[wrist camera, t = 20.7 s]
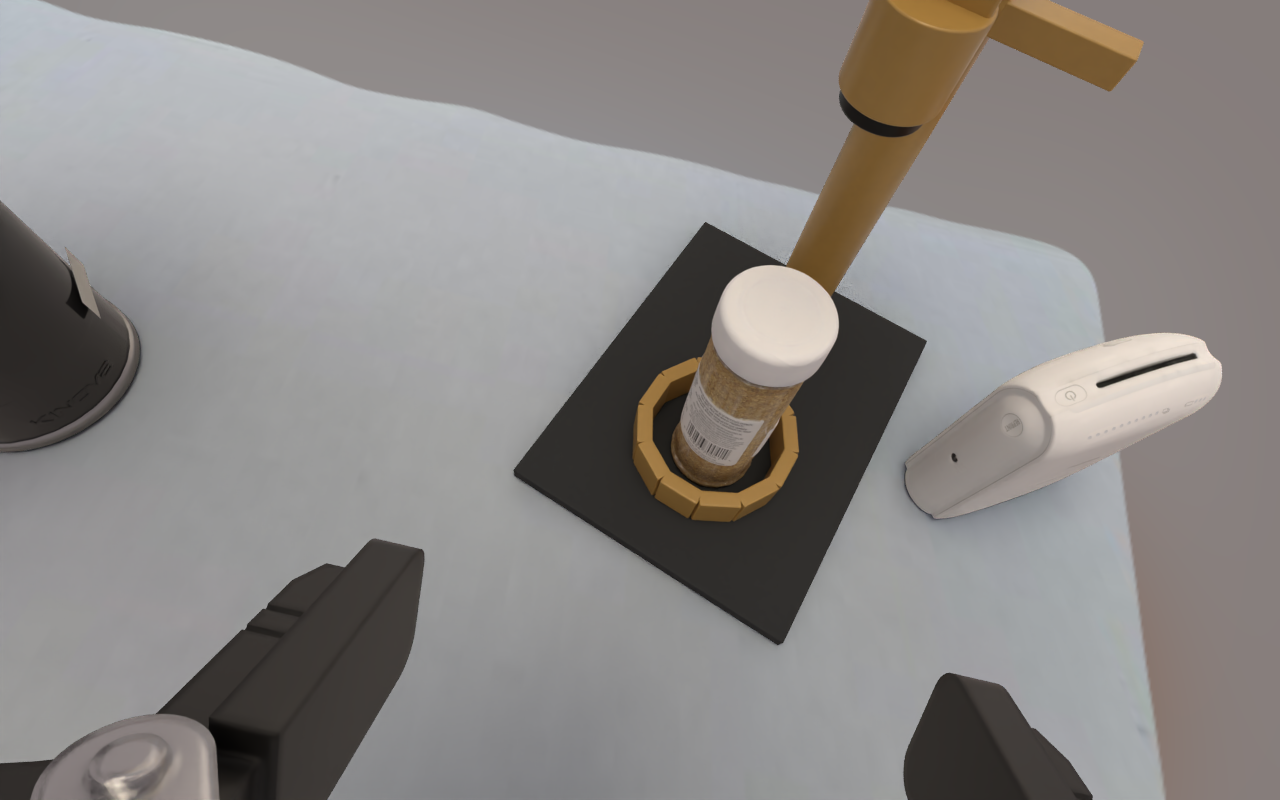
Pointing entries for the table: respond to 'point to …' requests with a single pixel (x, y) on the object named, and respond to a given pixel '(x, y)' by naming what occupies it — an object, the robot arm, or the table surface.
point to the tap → (884, 170)
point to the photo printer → (1061, 420)
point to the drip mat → (815, 487)
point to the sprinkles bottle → (751, 370)
